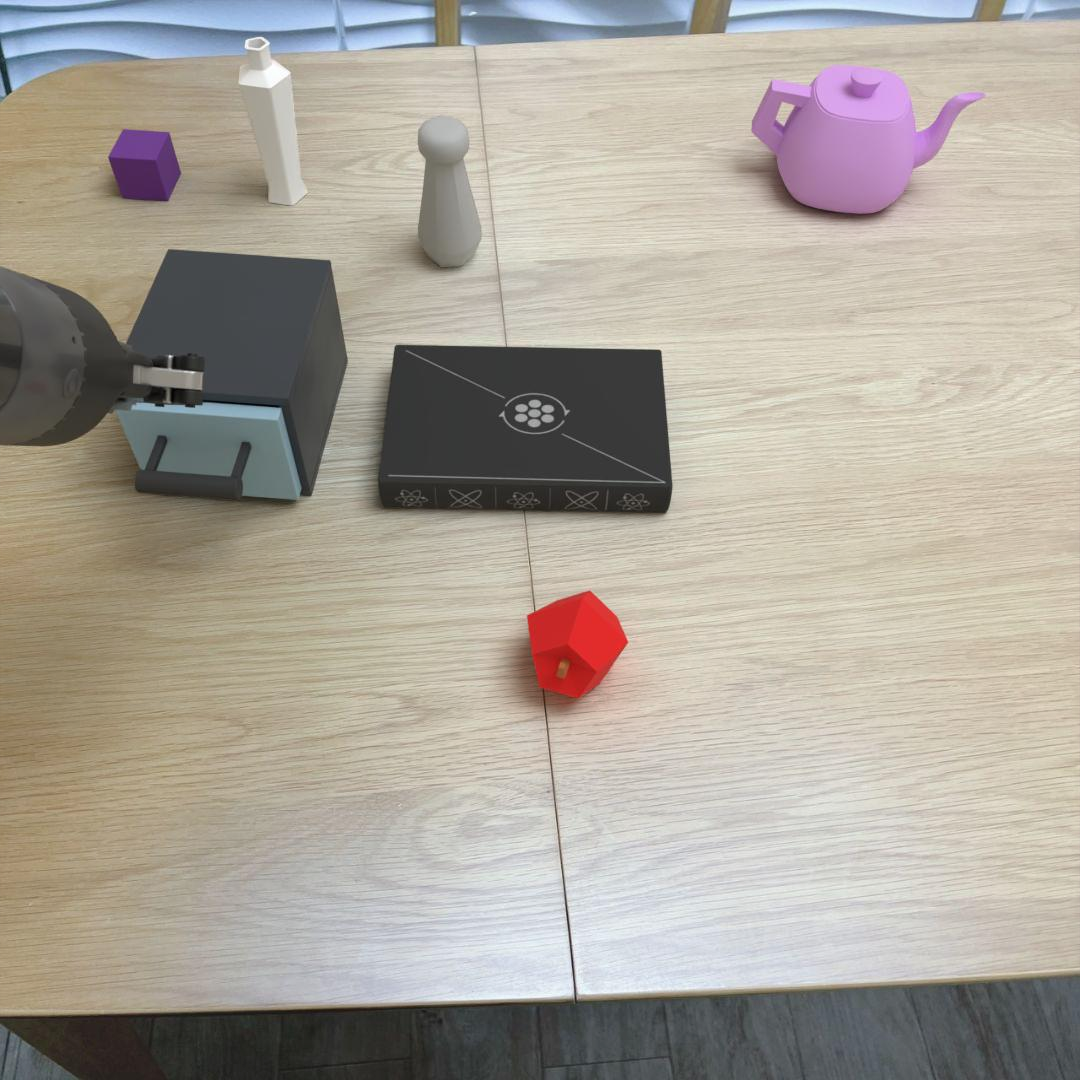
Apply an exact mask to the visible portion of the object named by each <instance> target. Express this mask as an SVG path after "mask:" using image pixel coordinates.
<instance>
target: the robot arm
mask: <svg viewBox="0 0 1080 1080" xmlns="http://www.w3.org/2000/svg"><path fill="white" fill-rule="evenodd" d="M115 334H116V333H115V332H114V331H113V329H112V327H111V325H110V324H109V321H107V319H106V318H105V316H104V315H103V314H102V313H101V311H99V309H98V308H97V307H96V306H95V305H94V304H93V303H91V302H90V301H89V300H88V299H86V298H85V297H83V296H82V295H80V294H79V293H77V292H75V291H73V290H70V289H68V288H66V287H63V286H60V285H57V284H54V283H51V282H48V281H45V280H42V279H39V278H36V277H33V276H31V275H29V274H25V273H21V272H18V271H16V270H13V269H10V268H7V267H4V266H1V265H0V446H3V447H4V446H5V447H6V446H10V447H11V446H12V447H15V446H16V447H53V446H59V445H63V444H64V445H65V444H67V443H70V442H72V441H75V440H77V439H79V438H81V437H83V436H85V435H87V434H88V433H89V432H91V431H92V430H93V429H94V428H96V427H97V426H98V425H99V424H100V423H101V422H102V421H103V419H104V418H105V417H106V415H107V414H110V415H111V414H114V412H115V410H127V411H130V410H131V408H132V405H136V403H152V404H155V406H156V407H165V406H164V405H185V407H189V408H195V405H200V406H203V387H204V366H205V358H204V357H198V354H194V353H187V355H178V356H173V355H165V356H157V357H155V358H150V357H149V356H148V355H146V354H144V353H141V352H135V351H134V347H133V346H132V345H129V344H126V342H122V341H120V340H118V337H117V335H115Z"/></svg>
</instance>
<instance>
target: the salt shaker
mask: <svg viewBox="0 0 1080 1080" xmlns="http://www.w3.org/2000/svg"><path fill="white" fill-rule="evenodd" d="M417 147H418V152H419V153H420V154H421V156H422V157H423V158H424V159H425V164H424V172H423V183H422V192H421V201H420V207H419V208H420V209H419V215H418V223H417V239H418V242H419V245H420V246H421V248H422V249H423V251H424V252H425V254H426V256H427V257H428V258H429V259H430V260H431V261H433V262H434V263H435V264H436V265H438V266H439V267H440V268H453V267H463V266H464V265H465V264H466V263H467V262H468V261H469V260H471V258H473V257H474V255H475V253H476V251H477V250H478V248H479V245H480V243H481V242H482V237H483V230H482V223H481V220H480V216H479V213H478V209H477V204H476V202H475V198H474V195H473V190H472V187H471V183H470V180H469V176H468V172H467V167H466V163H465V160H464V158H465V157H466V155H467V153H468V152H469V150H470V134H469V130H468V126H466V124H465V123H464V122H462V121H461V120H460V119H458V118H455V117H453V116H449V115H448V116H447V115H438V116H433V117H430V118H428V119H426V120H425V121H424V122H423V123H422V124H421V125H420V127H419V128H418V131H417Z"/></svg>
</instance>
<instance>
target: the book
mask: <svg viewBox="0 0 1080 1080" xmlns="http://www.w3.org/2000/svg"><path fill="white" fill-rule="evenodd" d="M663 365H664V364H663V353H662V350H661V349H656V348H655V349H654V348H652V349H651V348H649V349H646V348H597V347H595V348H593V347H592V348H591V347H547V346H546V347H545V346H544V347H543V346H542V347H541V346H539V347H538V346H492V345H491V346H489V345H488V346H487V345H486V346H485V345H483V346H482V345H440V344H439V345H437V344H435V345H431V344H428V345H427V344H395V345H394V349H393V357H392V364H391V371H390V372H391V373H390V379H389V380H390V381H389V387H388V388H389V389H388V395H387V396H388V397H387V404H386V410H385V411H386V413H385V419H384V429H383V434H382V435H383V436H382V443H381V445H382V446H381V451H380V460H379V468H378V476H377V483H378V485H377V487H378V495H379V499H380V504H381V506H382V508H383V509H384V508H385V509H387V508H388V509H389V508H390V509H435V510H437V509H441V510H442V509H446V510H496V511H497V510H498V511H499V510H500V511H501V510H502V511H504V510H505V511H555V512H556V511H557V512H560V511H561V512H563V511H564V512H614V513H615V512H616V513H617V512H618V513H619V512H621V513H626V512H627V513H667V512H668V511H669V509H670V505H671V501H672V496H673V495H672V494H673V487H674V486H673V476H672V475H673V474H672V464H671V461H672V460H671V450H670V438H669V427H668V415H667V414H668V413H667V402H666V389H665V377H664V366H663Z"/></svg>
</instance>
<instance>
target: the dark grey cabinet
mask: <svg viewBox="0 0 1080 1080" xmlns="http://www.w3.org/2000/svg"><path fill="white" fill-rule="evenodd" d="M336 289H337V288H336V284H335V278H334V272H333V266H332V262H331V260H330V259H319V258H318V259H317V258H305V257H304V258H303V257H291V256H290V257H289V256H274V255H261V254H247V253H243V254H242V253H232V252H231V253H230V252H215V251H202V250H189V249H173V248H168V249H167V250H166V253H165V255H164V257H163V259H162V262H161V264H160V266H159V268H158V271H157V273H156V275H155V278H154V280H153V282H152V284H151V286H150V289H149V291H148V293H147V295H146V298H145V300H144V302H143V304H142V307H141V309H140V311H139V313H138V315H137V318H136V320H135V322H134V324H133V326H132V329H131V331H130V334H129V335H128V338H127V339H126V342H125V343H126V344H129V345H132V346H133V347H134V351H135V352H141V353H144V354H146V355H148V356H149V357H150V358H155V357H157V356H165V355H173V356H178V355H187V353H194V354H198V357H204V358H205V366H204V387H203V400H211V401H224V402H238V403H251V404H265V405H278V406H279V408H281V409H282V413H283V417H284V421H285V425H286V429H287V433H288V437H289V441H290V444H291V448H292V452H293V456H294V460H295V464H296V468H297V472H298V476H299V480H300V484H301V488H302V489H301V492H300V496H308V497H312V496H313V493H314V492H313V491H314V489H315V486H316V480H317V478H318V474H319V470H320V466H321V462H322V459H323V455H324V451H325V448H326V444H327V441H328V437H329V432H330V428H331V425H332V422H333V418H334V414H335V412H336V411H335V410H336V407H337V404H338V399H339V395H340V392H341V388H342V385H343V382H344V378H345V374H346V371H347V366H348V362H349V359H348V353H347V348H346V342H345V336H344V330H343V324H342V319H341V313H340V307H339V302H338V296H337V290H336Z"/></svg>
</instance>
